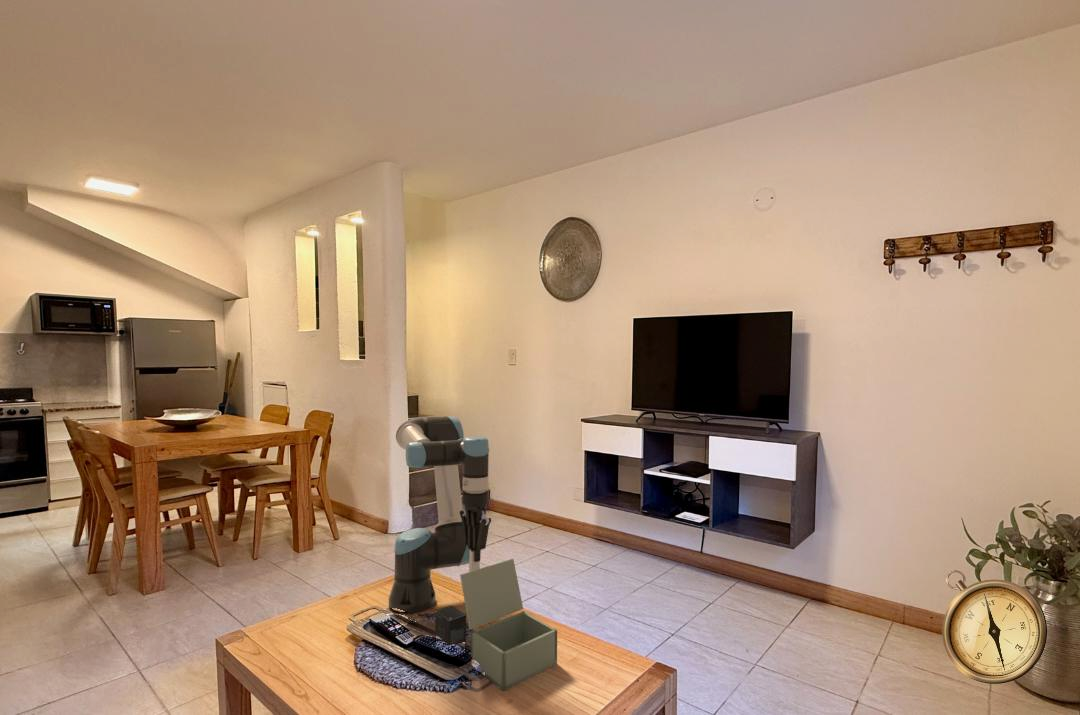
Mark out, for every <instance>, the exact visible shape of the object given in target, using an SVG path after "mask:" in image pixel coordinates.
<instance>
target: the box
mask: <svg viewBox="0 0 1080 715" xmlns="http://www.w3.org/2000/svg"><path fill="white" fill-rule="evenodd" d="M434 613H435V614H434V615H435V616H434V618H435V621H434V622H435V623H434V625H435V627H434V628H435V631H434V635H435V634H436V635H437V636H439V637H440V638H441V639H442V640H443V641H444V642H446V643H447V644H448V645H452V644H458V643H462V642H466V643H467V613H465V612H463V611H461V610H460V609H458V608H457V607H456V606H454V605H453V604H452V605H449V606H445V607H443V608H440V609H439V608H438V609H436V610H435V612H434Z"/></svg>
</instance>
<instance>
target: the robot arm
mask: <svg viewBox="0 0 1080 715" xmlns="http://www.w3.org/2000/svg"><path fill="white" fill-rule="evenodd" d="M464 435H465V434H464V429H463V425H462V422H461V420H460V419H459V418H458V417H456V416H447V415H446V416H428V417H427V416H425V417H423V416H421V417H419V416H418V417H414V418H411V419H408V420H406V421H405V422H403V423H402V424H401V425H399V427H398V428H397V430H396V433H395V440H396V443H397V444H398V446H399V447H400V448H401V449H402V450H405V462H406V463H405V464H406V465H407V467H408V468H415V469H416V468H417V469H421V468H430V467H431V468H432V467H433V469H434V470H433V471H434V481H435V492H436V503H437V504H436V505H437V517H438V523H437V524H436V526H435V527H434V532H432V531H431V529H429V528H428V527H416V528H412V529H407V530H406V531H404V532H402V533H400V534H399V535H398V536H397V537H396V538H395V543H394V549H393V550H394V551H393V552H394V581H393V583H392V587H391V591H390V594H389V597H388V607H389V609H390V608H397V609H400V610H403V611H405V612H408V613H407V614H412V613H413V614H414V613H419V612H423V611H426V610H428V609H431V607H433V606H434V605H435V604H436V592H435V588H434V584H433V581H432V578H431V570H438V569H445V568H451V567H460V566H465V565H469V566H468V570H469V571H468V572H471V571H474V570H477V569H481V551H482V550H484V549H486V547H487V540H488V534H489V529H490V524H491V523H492V518H491V517H487V515H486V514H487V513H486V512H487V511H486V505H488V503H489V491H488V490H489V459H490V458H489V452H490V446H489V439H488V438H487V437H485V436H466V437H464ZM460 465H462V490H463V491H462V493H461V485H460V484H461V482H460V475H459V466H460ZM463 506H464V509H463Z"/></svg>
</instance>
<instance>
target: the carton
mask: <svg viewBox="0 0 1080 715" xmlns="http://www.w3.org/2000/svg"><path fill="white" fill-rule="evenodd" d="M471 657H472V658H473V659H474V660H476V661H477V662H478V663H479V664H480V666H481V667H482V668H483V670H484V672H485V676H484V678H486V680H488V681H490V682H491V683H492V684H494V685H495V686H496V687H498V689H500V690H501V691H503V692H504V691H507V690H508V689H510V688H512V687H514V686H516V685H518V684H520V683H522V682H523V681H526V680H527V679H529V678H531V677H533V676H535V675H537V674H539V673H541V672H543V671H545V670H546V669H549V668H551V667H552V666H554V665H557V664H558V629H556V628H555V627H553V626H550V625H548V624H547V623H545V622H544V621H542V620H540V619H538V618H536V617H534V616H533V615H531V614H529V613H528V612H526V611H521V612H518V613H516V614H513V615H511V616H509V617H506V618H504V619H501V620H499V621H495V622H494V623H491V624H488V625H486V626H483V627H482V628H479V629H477V630H473V631H471V632H470V658H471Z"/></svg>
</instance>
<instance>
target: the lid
mask: <svg viewBox="0 0 1080 715" xmlns="http://www.w3.org/2000/svg"><path fill="white" fill-rule="evenodd" d="M459 577H460V582H461V583H460V584H461V589H462V594H463V600H464V601H463V602H464V606H465V612H466V613H465V614H466V620H467V623H468V630H469V631H470V630H473V629H476V628H478V627H481V626H483V625H486V624H489V623H491V622H494V621H497V620H499V619H501V618H504V617H507V616H508V615H512V614H514V613H516V612H519V611H522V610H524V605H523V600H522V595H521V591H520V587H519V586H520V584H519V580H518V576H517V570H516V565H515V560H514V558H511V559H507V560H504V561H501V562H497V563H495V564H494V563H493V564H491V565H488V566H484V567H480V569H477V570H474V571H471V572H469V571H467V572H464V573H462V574H459Z"/></svg>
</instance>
